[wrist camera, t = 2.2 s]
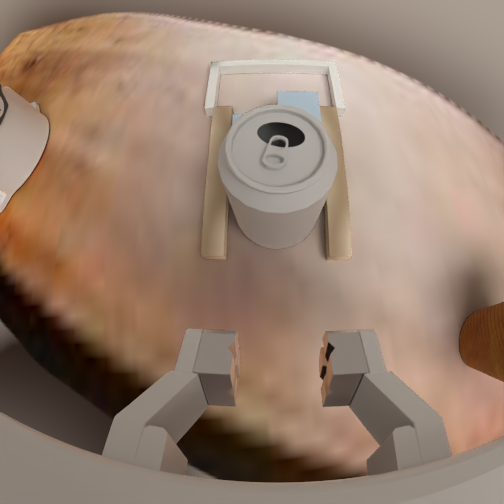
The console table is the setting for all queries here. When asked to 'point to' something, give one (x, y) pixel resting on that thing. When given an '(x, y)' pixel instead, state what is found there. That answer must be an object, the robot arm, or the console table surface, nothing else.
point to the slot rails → (219, 202)
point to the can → (277, 173)
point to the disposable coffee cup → (484, 341)
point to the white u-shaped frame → (274, 67)
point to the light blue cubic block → (301, 101)
